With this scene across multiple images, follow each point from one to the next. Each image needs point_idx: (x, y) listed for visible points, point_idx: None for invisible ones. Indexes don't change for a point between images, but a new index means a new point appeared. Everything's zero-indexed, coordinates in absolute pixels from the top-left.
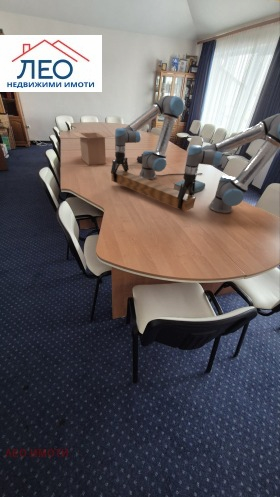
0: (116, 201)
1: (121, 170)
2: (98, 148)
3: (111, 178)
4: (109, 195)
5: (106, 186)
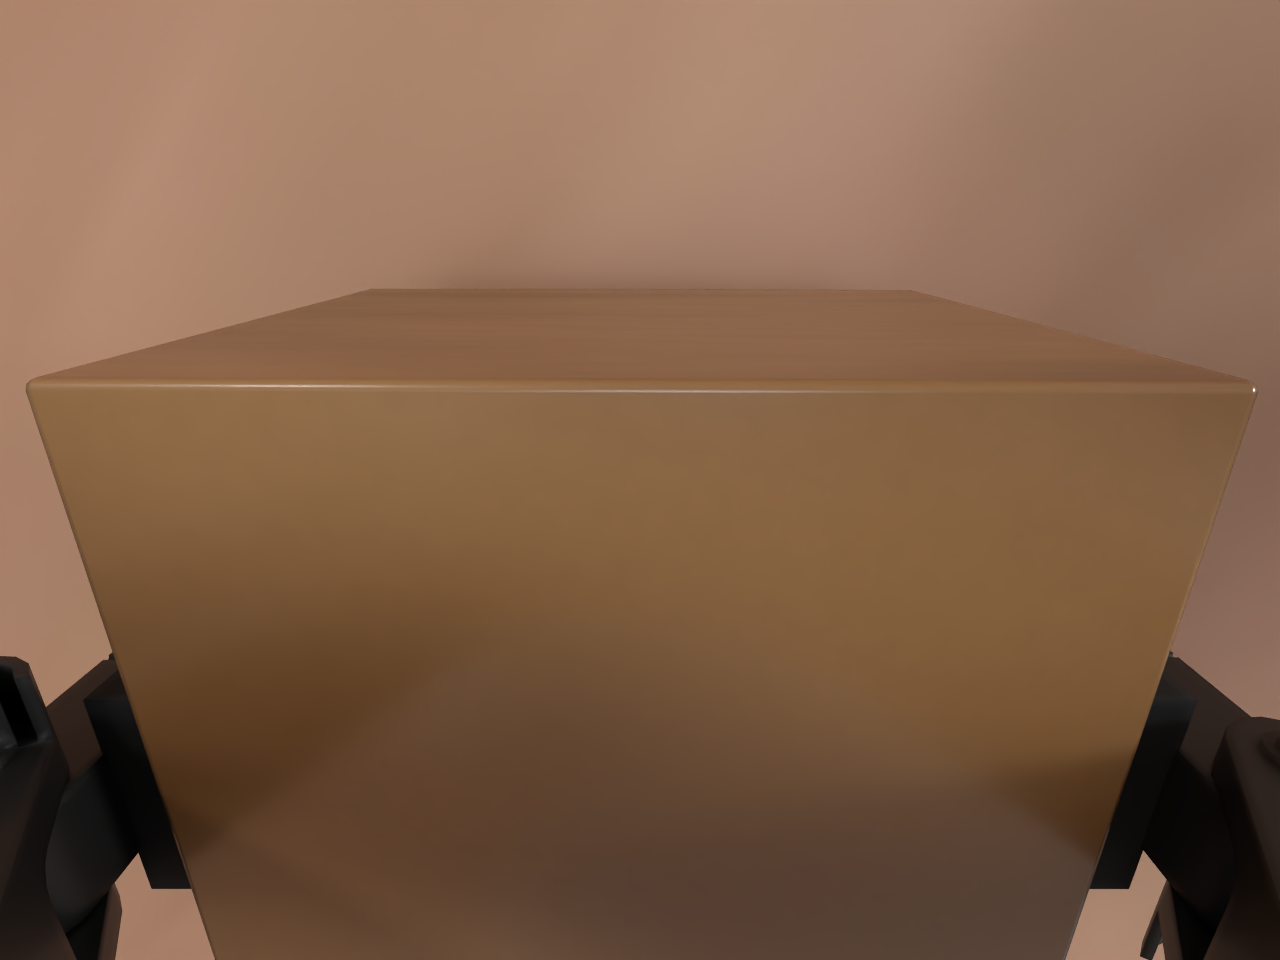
0: None
1: (1048, 652)
2: None
3: (321, 304)
4: (48, 700)
5: (280, 165)
